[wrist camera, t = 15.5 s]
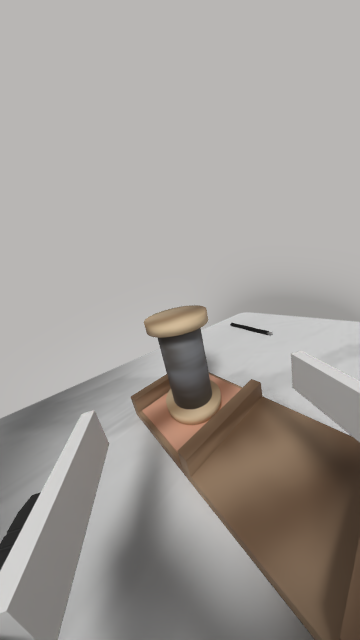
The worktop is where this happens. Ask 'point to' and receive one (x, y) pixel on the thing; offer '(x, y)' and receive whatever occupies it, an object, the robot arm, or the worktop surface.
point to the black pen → (251, 329)
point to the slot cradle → (276, 495)
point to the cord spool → (185, 364)
